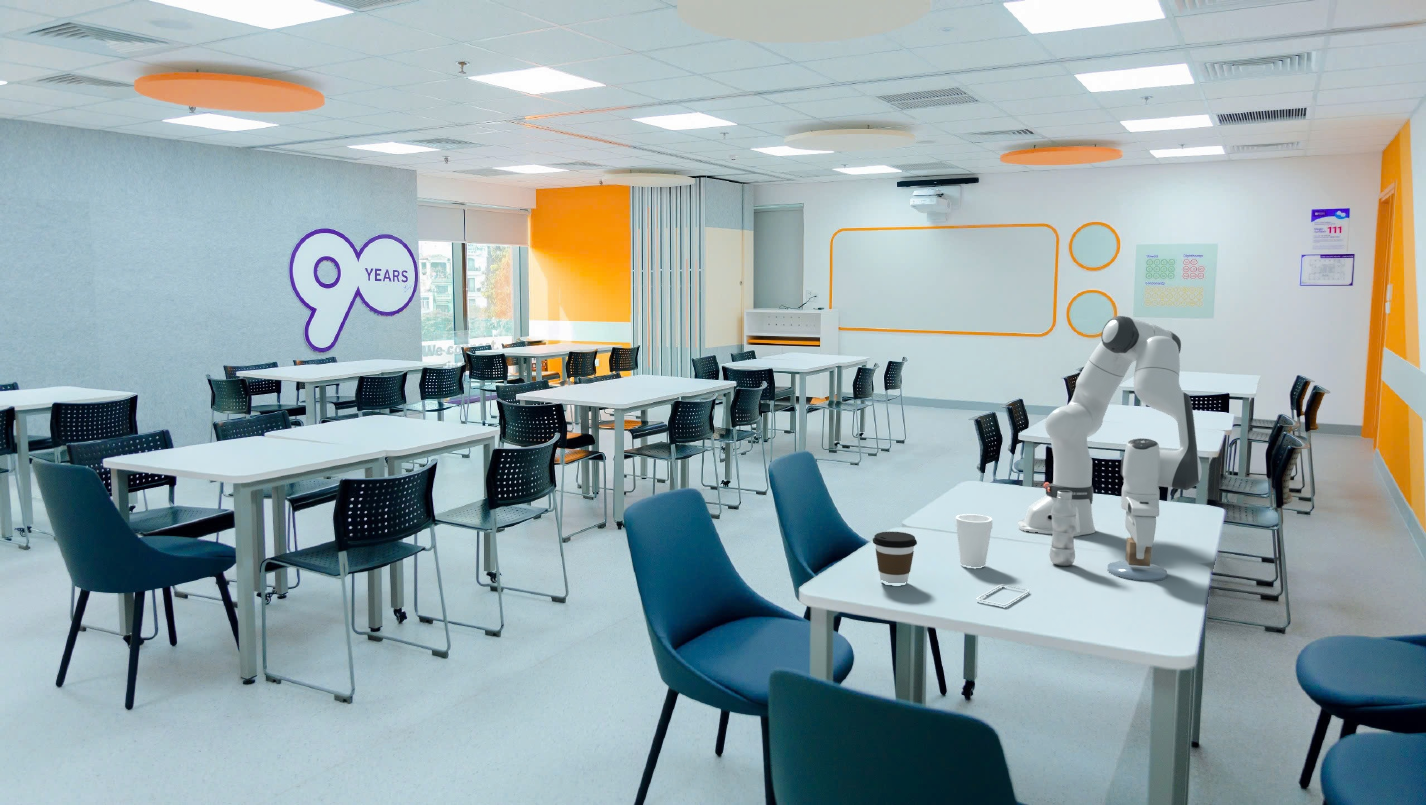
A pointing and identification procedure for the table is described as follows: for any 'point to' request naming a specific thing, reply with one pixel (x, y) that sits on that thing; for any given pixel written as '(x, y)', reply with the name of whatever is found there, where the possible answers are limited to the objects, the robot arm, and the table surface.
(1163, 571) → the dish
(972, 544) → the foam cup
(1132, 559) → the walnut block
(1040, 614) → the table surface
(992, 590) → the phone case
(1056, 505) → the plastic bottle
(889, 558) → the coffee cup
